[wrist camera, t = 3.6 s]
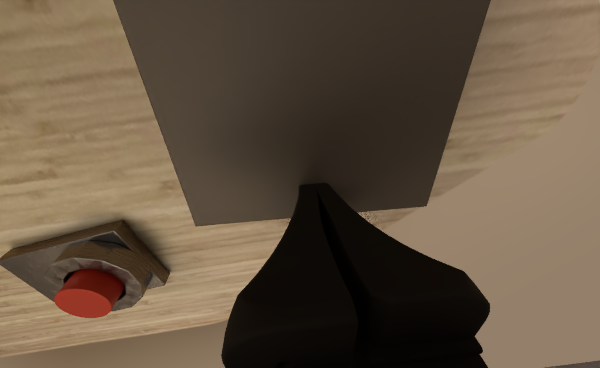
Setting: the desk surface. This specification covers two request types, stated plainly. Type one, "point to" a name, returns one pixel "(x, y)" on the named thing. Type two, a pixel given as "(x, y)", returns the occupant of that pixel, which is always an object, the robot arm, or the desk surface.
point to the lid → (302, 97)
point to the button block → (89, 261)
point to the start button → (89, 293)
